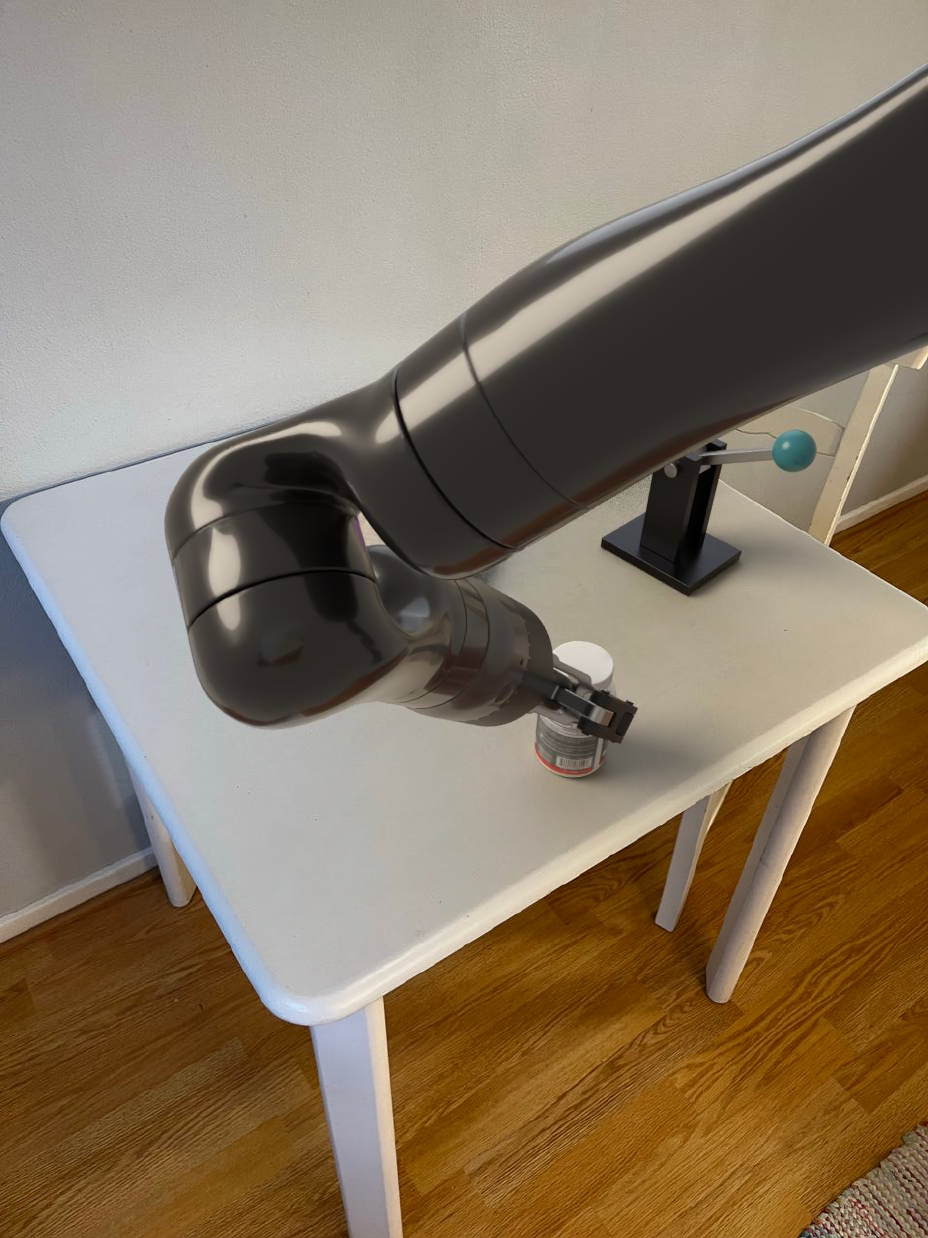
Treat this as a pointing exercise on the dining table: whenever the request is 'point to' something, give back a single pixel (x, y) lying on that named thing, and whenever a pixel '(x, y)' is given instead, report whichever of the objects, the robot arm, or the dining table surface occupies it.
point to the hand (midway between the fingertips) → (555, 684)
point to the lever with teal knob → (768, 453)
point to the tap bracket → (677, 527)
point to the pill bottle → (566, 743)
